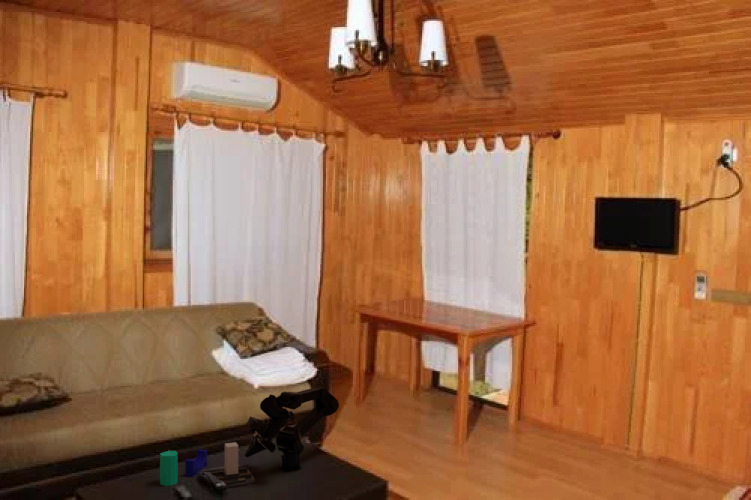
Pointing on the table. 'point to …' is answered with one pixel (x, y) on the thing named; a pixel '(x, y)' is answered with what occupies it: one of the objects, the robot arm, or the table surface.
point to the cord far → (223, 468)
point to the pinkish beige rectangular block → (231, 460)
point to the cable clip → (196, 464)
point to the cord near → (238, 484)
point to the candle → (168, 468)
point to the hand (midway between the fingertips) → (245, 456)
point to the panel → (235, 477)
